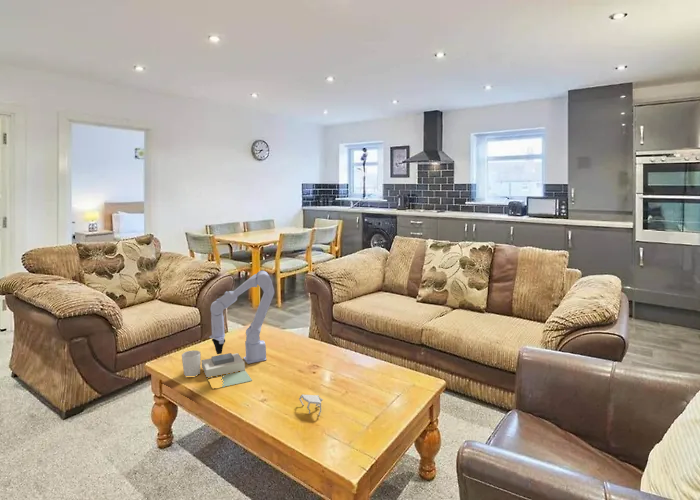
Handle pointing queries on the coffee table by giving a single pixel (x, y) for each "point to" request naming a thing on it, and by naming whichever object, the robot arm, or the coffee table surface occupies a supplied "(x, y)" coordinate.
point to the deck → (223, 366)
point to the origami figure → (311, 400)
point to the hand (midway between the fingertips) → (219, 353)
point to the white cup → (191, 363)
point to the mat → (235, 378)
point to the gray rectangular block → (222, 359)
